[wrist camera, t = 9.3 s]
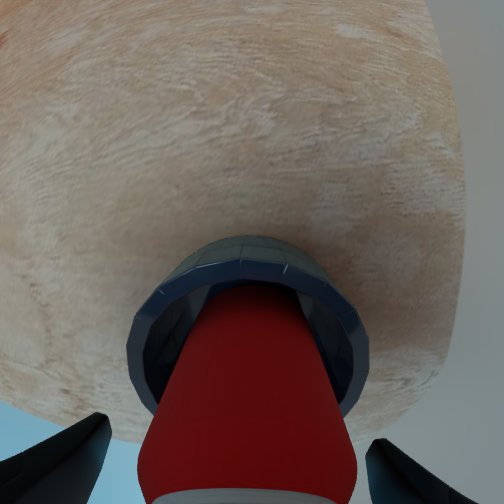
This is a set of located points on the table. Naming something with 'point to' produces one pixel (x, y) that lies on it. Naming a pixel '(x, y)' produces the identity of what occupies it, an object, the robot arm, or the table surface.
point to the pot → (236, 274)
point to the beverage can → (248, 412)
